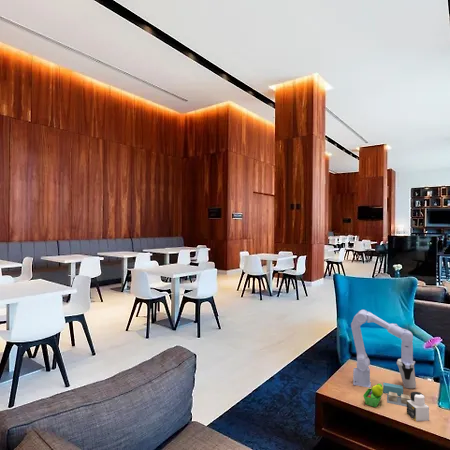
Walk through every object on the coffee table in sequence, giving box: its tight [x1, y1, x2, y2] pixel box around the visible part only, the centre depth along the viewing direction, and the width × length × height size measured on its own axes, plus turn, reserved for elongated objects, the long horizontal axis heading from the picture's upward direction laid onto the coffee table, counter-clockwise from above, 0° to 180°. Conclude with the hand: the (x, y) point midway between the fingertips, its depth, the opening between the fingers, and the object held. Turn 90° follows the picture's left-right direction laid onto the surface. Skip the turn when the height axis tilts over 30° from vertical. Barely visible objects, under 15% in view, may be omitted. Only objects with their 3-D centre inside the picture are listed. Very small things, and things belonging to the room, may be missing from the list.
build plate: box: [386, 394, 411, 408], centre depth 182 cm, size 12×10×1 cm
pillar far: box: [400, 393, 411, 404], centre depth 180 cm, size 4×4×3 cm
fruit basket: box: [363, 383, 384, 408], centre depth 180 cm, size 11×9×11 cm
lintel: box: [382, 382, 404, 397], centre depth 190 cm, size 10×4×5 cm, turn 65°
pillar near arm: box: [388, 392, 397, 402], centre depth 183 cm, size 4×4×3 cm
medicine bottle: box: [406, 391, 430, 422], centre depth 167 cm, size 7×7×12 cm
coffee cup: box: [396, 358, 417, 389], centre depth 199 cm, size 10×10×15 cm
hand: (406, 376), depth 190 cm, fingers open, 7 cm apart
